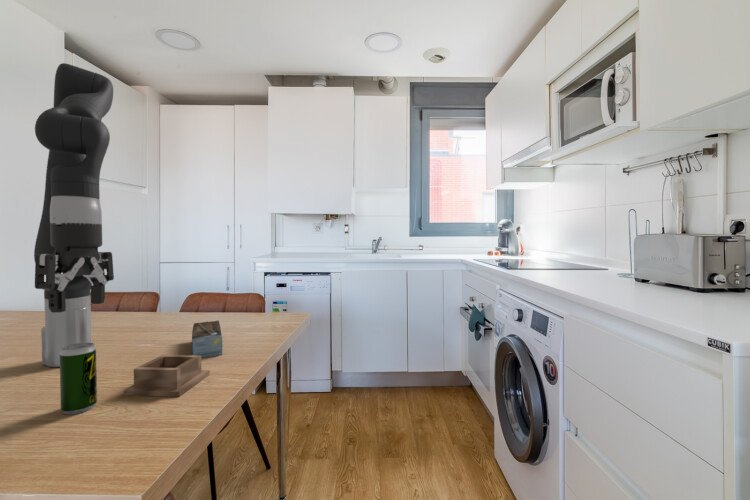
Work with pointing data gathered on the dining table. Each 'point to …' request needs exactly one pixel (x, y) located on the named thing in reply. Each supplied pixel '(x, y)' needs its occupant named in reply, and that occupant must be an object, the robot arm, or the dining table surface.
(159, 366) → the walnut holder
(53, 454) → the dining table surface
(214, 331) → the beverage carton
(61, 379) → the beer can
